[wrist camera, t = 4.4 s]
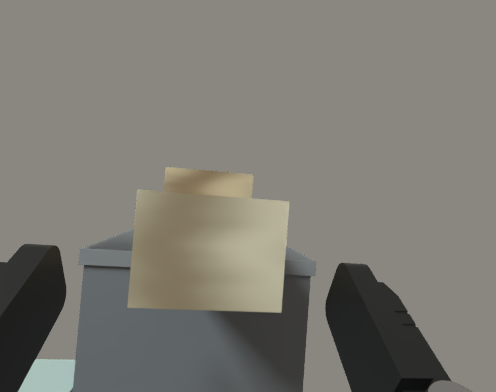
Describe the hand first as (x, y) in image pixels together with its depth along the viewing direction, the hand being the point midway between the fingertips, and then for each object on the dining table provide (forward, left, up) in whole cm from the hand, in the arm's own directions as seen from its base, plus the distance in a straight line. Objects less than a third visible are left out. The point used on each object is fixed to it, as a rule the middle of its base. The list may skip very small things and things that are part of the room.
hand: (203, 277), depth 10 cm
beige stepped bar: (0, +10, -1) cm, 10 cm away
